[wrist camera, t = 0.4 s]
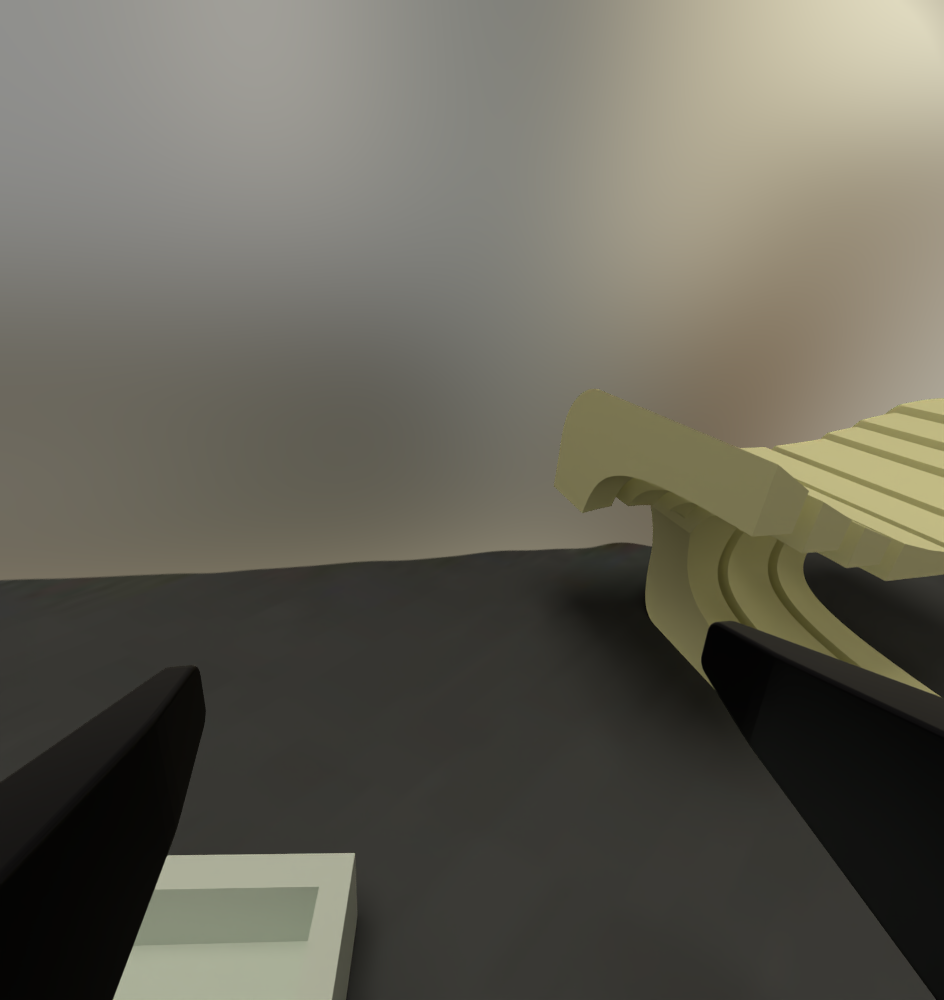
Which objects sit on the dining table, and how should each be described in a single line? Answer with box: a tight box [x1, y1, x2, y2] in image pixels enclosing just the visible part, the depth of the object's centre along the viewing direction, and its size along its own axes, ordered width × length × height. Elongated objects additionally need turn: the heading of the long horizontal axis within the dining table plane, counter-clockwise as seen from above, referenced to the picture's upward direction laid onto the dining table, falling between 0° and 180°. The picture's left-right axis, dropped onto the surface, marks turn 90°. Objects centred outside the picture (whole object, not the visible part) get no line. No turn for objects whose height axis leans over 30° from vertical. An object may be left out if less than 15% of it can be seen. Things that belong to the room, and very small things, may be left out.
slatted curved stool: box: [554, 389, 944, 696], centre depth 31 cm, size 30×16×18 cm, turn 105°
